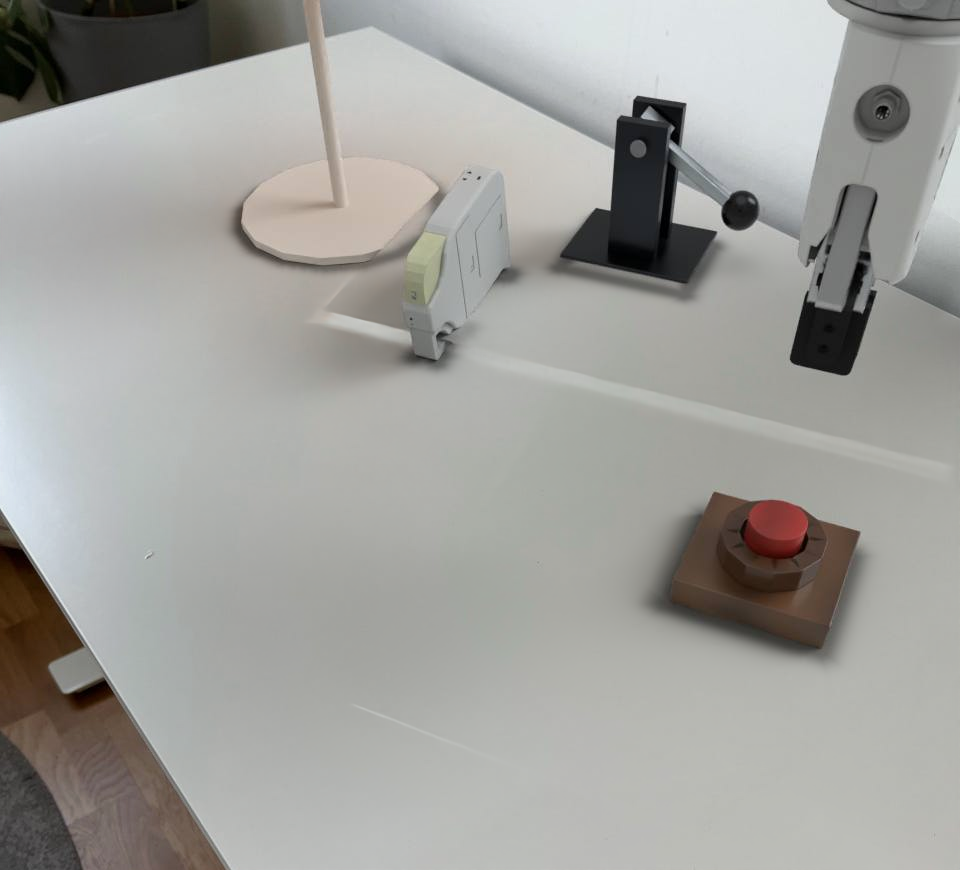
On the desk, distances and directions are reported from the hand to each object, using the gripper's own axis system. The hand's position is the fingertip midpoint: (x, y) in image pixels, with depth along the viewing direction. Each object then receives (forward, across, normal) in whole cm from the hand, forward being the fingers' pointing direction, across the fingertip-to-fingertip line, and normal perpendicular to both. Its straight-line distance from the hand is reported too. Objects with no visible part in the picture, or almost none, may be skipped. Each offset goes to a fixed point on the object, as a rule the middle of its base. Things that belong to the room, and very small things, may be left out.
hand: (822, 360), depth 52 cm
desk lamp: (+17, +32, +51) cm, 63 cm away
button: (+13, 0, 0) cm, 13 cm away
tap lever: (+10, +35, +17) cm, 40 cm away
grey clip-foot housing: (+17, +20, +32) cm, 42 cm away
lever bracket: (+17, +35, +21) cm, 44 cm away
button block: (+17, 0, 0) cm, 17 cm away
